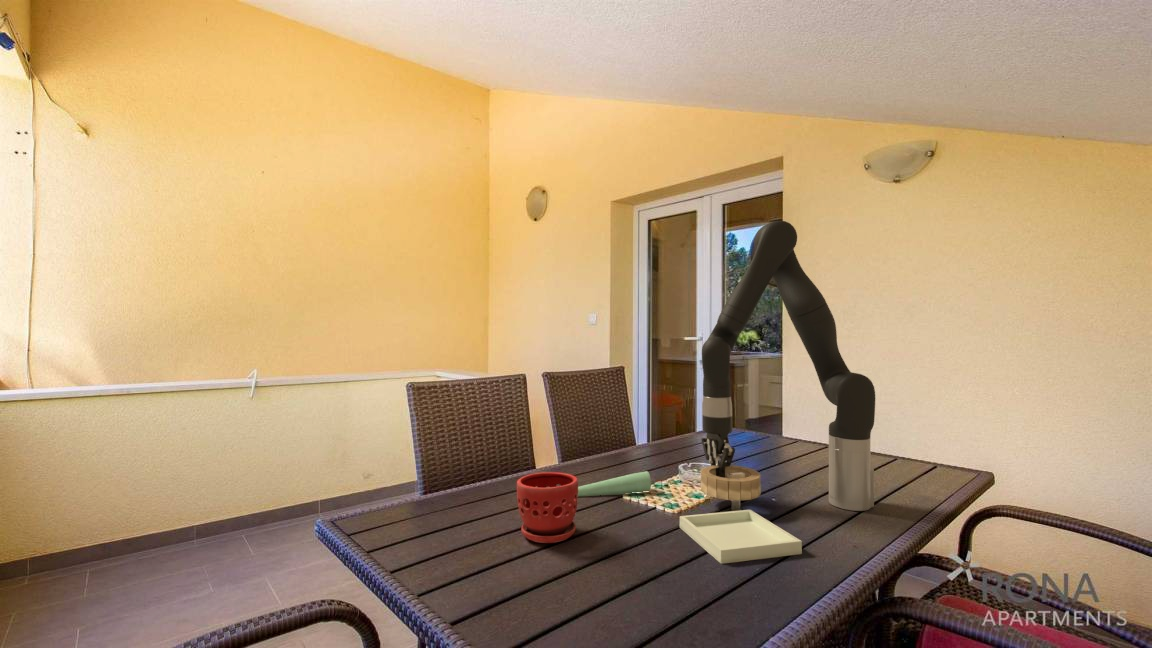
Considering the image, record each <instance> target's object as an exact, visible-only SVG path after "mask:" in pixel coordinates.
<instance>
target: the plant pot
mask: <svg viewBox="0 0 1152 648" xmlns="http://www.w3.org/2000/svg"><path fill="white" fill-rule="evenodd" d="M557 485H558V486H557ZM578 487H579V480H578V478H577V477H576V476H575V475H572V474H570V473H564V472H551V471H550V472H548V471H547V472H537V473H532V474H528V475H524V476H521V477H520V478H519V479H517V481H516V499H517V500H516V501H517V506H518V512H519V514H520V518H521V520H522V525H521V530H520V531H521V534H522V535H523V536H524V537H525V538H526V539H527V540H529V541H532V542H535V543H540V544H553V543H559V542H562V541H567V539H569V538H570V537H572V535H573V534H574V533H575V531H576V530H577V524H576V523H575V522H574V519H575V517H576V513H577V508H578V497H577V496H578Z"/></svg>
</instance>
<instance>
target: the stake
mask: <svg viewBox="0 0 1152 648" xmlns="http://www.w3.org/2000/svg"><path fill="white" fill-rule="evenodd" d="M727 478H731V479H740V478H745V474H744V473H742V472H741V473H727ZM740 510H741V500H740V501H739V500H731V511H740Z"/></svg>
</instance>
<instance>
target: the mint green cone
mask: <svg viewBox="0 0 1152 648" xmlns="http://www.w3.org/2000/svg"><path fill="white" fill-rule="evenodd" d="M651 480H652V479H651V475H650V473H649V471H647V470H646V471H640V472H634V473H630V474H626V475H621V476H618V477H613V478H609V479H605V480H600V481H597V482H592V483H588V484H584V485H580V486H579V485H578V496H577V498H580V497H597V496H600V495H601V496H612V495H613V496H615V495H626V494H625V493H632V492H643V491H649V492H650V491H651V488H652V481H651Z"/></svg>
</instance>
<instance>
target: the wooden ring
mask: <svg viewBox="0 0 1152 648" xmlns="http://www.w3.org/2000/svg"><path fill="white" fill-rule="evenodd" d="M741 472H742V473H744V474H745V478H740V479H731V478H727V473H741ZM761 477H762V476H761V473H760V472H759V471H757V470H755V469H753V468H751V467H750V468H749V467H746V466H741V465H733V464H731V465H730V467H725V478H722V477H718V476H716V465H711V464H710V465H709V466H708V465H707V466H704V467H702V468H701V469H700V490H701V492H702V493H704V494H705V495H706V496H709V497H712V498H716V499H720V500H726V501H732V500H739V501H740V502H741V501H750V500H754V499H757V498H759V497H760V496H761V494H762V493H761V492H762V491H761V490H762V486H761V485H762V484H761V483H762V481H761V480H762V479H761Z"/></svg>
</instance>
